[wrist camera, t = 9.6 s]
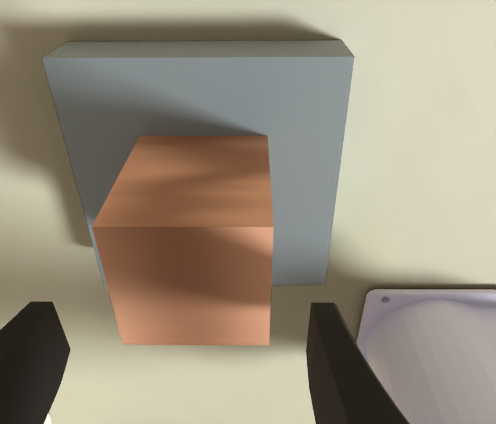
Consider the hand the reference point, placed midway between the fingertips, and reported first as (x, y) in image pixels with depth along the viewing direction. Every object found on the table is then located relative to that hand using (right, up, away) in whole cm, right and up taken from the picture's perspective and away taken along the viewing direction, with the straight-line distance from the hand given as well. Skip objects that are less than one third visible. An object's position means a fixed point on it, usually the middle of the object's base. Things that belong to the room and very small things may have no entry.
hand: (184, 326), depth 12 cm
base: (0, +6, +8) cm, 10 cm away
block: (0, +4, +6) cm, 7 cm away
